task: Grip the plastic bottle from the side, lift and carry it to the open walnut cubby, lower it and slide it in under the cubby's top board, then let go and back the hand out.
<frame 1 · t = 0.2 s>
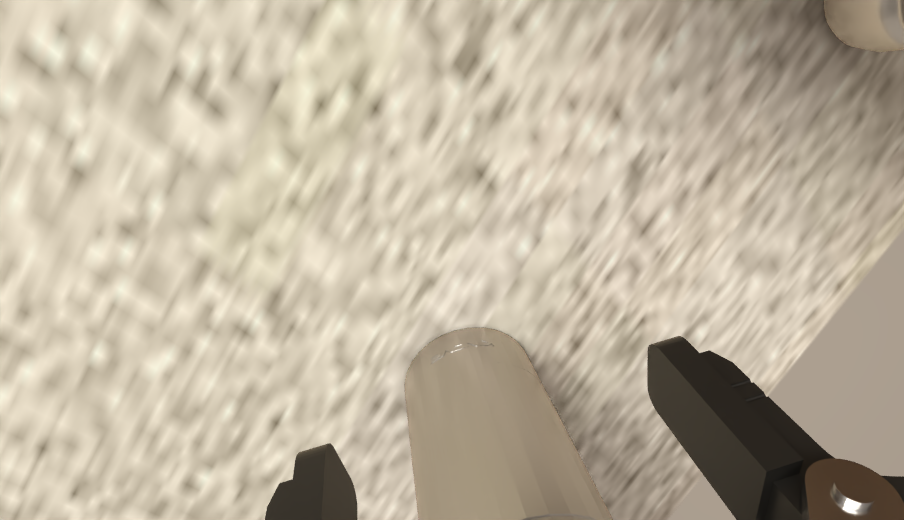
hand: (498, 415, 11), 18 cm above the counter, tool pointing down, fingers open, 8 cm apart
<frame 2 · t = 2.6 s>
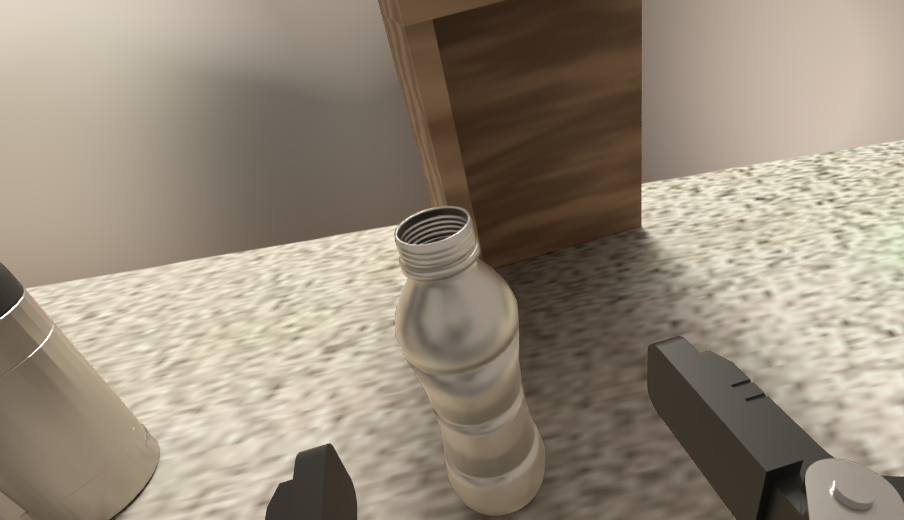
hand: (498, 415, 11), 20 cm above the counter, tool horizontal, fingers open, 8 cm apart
walnut cubby: (577, 290, 47), on the counter
plastic bottle: (501, 482, 32), on the counter
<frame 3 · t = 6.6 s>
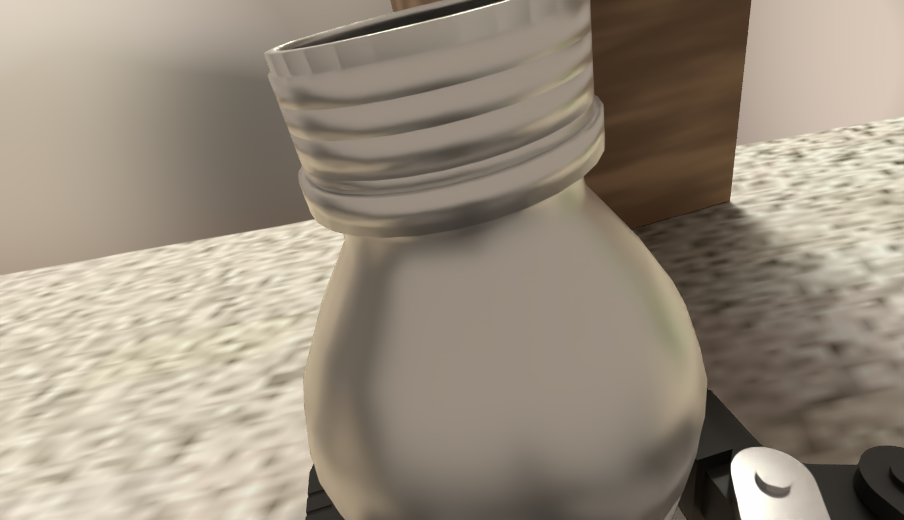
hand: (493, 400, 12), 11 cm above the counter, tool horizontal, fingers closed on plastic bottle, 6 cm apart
walnut cubby: (652, 292, 31), on the counter
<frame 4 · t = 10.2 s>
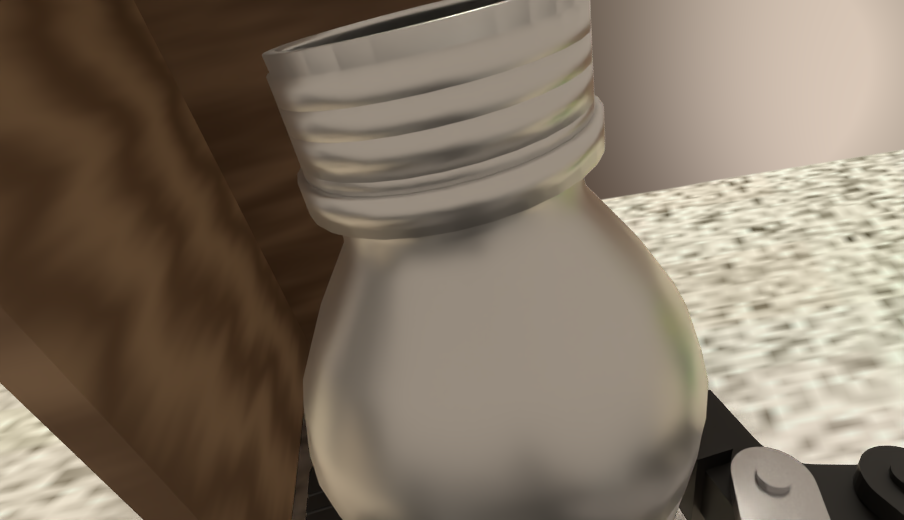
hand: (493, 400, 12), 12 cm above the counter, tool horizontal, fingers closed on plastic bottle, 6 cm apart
walnut cubby: (458, 385, 29), on the counter
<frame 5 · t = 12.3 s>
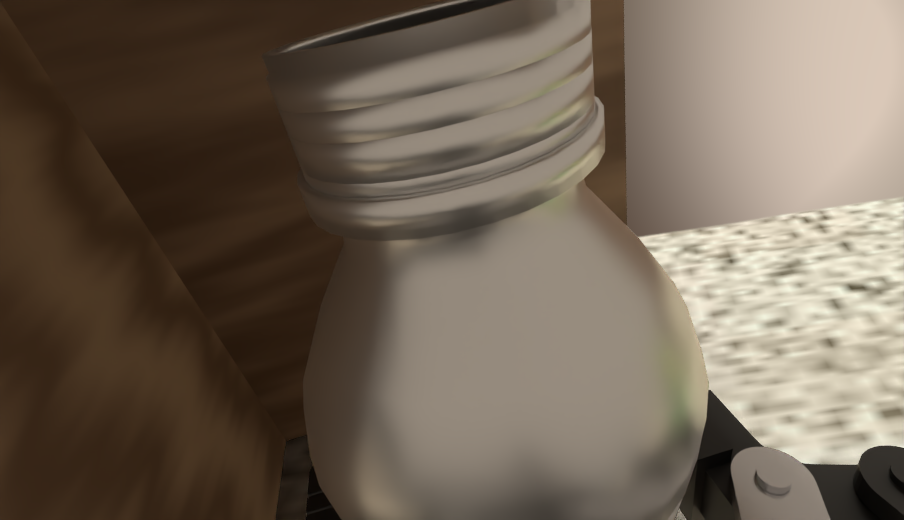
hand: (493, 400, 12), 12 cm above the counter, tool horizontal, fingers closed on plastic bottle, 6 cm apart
when the fingers open (12 cm above the counter, at t = 14.2 s): plastic bottle drops 1 cm, on the counter.
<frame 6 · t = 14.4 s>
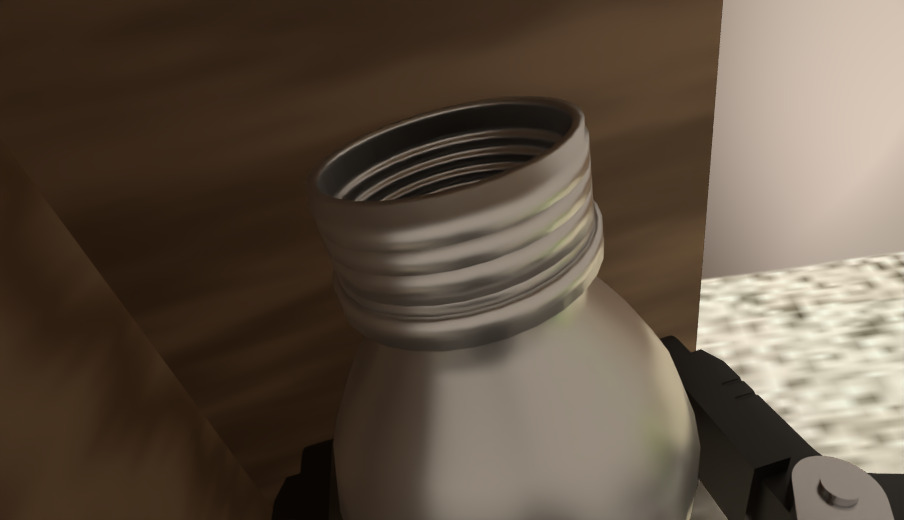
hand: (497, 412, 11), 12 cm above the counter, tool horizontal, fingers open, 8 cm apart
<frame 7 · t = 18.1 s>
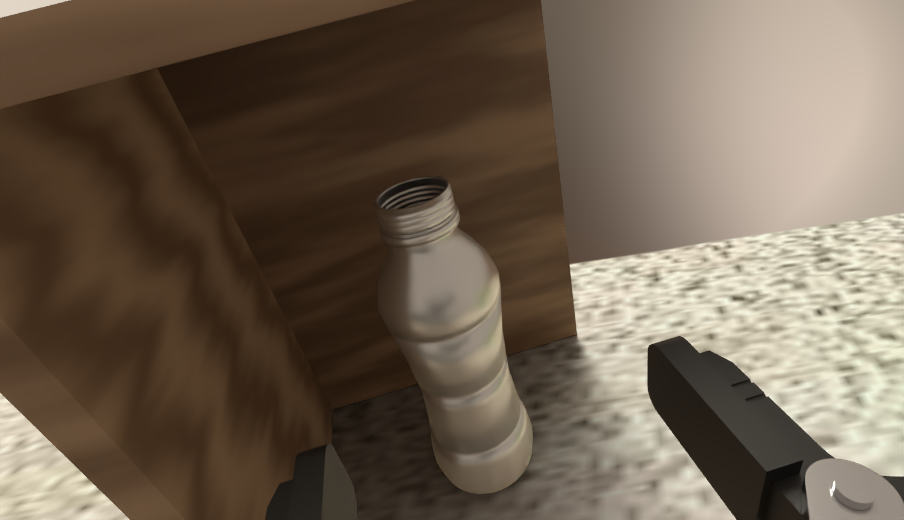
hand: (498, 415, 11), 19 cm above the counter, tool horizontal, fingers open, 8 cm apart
walnut cubby: (469, 452, 32), on the counter
plastic bottle: (489, 463, 31), on the counter
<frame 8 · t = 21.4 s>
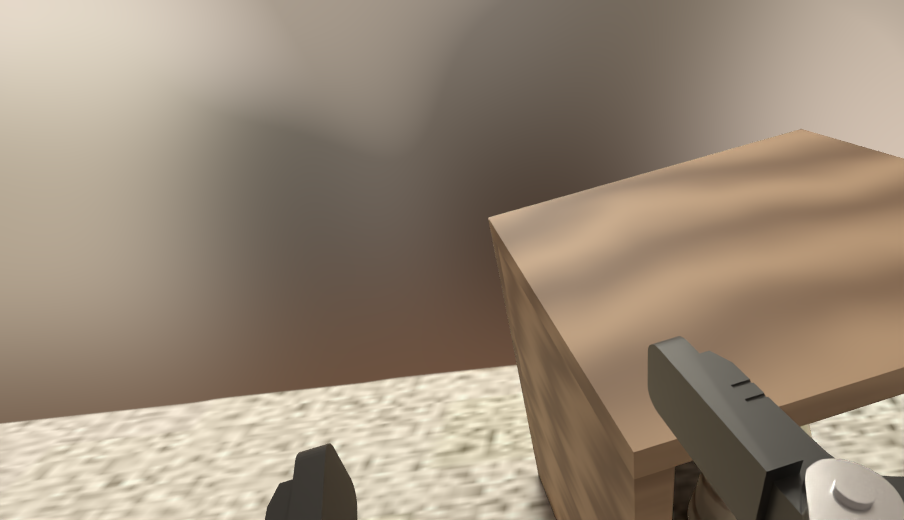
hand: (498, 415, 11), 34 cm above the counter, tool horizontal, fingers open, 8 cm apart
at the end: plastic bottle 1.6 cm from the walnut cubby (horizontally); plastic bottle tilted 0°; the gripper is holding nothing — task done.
